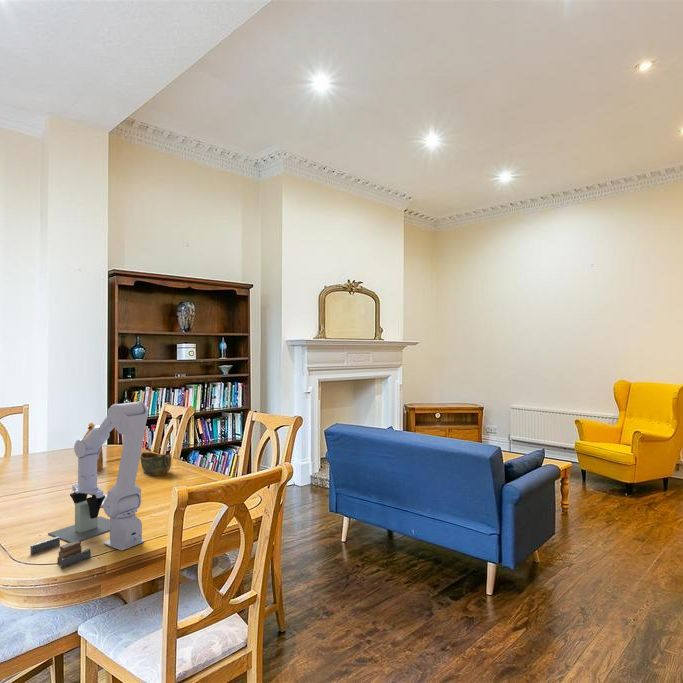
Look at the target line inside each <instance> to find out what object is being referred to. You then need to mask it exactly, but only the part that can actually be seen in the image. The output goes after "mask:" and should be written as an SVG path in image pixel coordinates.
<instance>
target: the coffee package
mask: <svg viewBox="0 0 683 683" xmlns="http://www.w3.org/2000/svg"><path fill="white" fill-rule="evenodd" d="M93 426H95V423H93V422H90V423H88V427H87V431H86V433H85V434H84V436H83V438H82V439H84V438H85V437H86V435H87V434H88V433H89V432H90V431H91V430H92V428H93ZM102 446H103V445H102ZM102 446H101V452H100V454H99V459H98V460H97V473H98V472H101V470H102V469H103V466H104V456H103V455H104V453H103V447H102Z"/></svg>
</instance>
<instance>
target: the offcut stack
mask: <svg viewBox="0 0 683 683" xmlns="http://www.w3.org/2000/svg"><path fill="white" fill-rule="evenodd" d="M81 542H82V541H80V542H79V541H74V542H71V543H68V542H67V543H65V544H63V545H59V546H60V547H59V551H58V557H57V562H56V563H57V565H60V566H61V559H62V558H65V557H67V556H70V555H73V554H75V553H78V552H81V551H83V550H82V549H83V548H82V544H81Z"/></svg>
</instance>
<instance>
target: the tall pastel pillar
mask: <svg viewBox="0 0 683 683" xmlns="http://www.w3.org/2000/svg"><path fill="white" fill-rule="evenodd" d="M98 517H99V516H98ZM98 517H96V518H93V519H91V518H90V512H89V506H88V503H87V501H83V502H79V503H76V504H74V525H75V531H76V532H79V533H82V532H85V531H88V530H91V529H94V528H96V527H98Z"/></svg>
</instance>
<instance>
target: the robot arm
mask: <svg viewBox="0 0 683 683" xmlns="http://www.w3.org/2000/svg"><path fill="white" fill-rule="evenodd" d="M148 415H149V411H148V409H147V406H146V405H145V403H144V402H143V401H141V400H138V401H133V402H126V403H125V402H124V403H114V404H112V405H110V407H109V408H108V409H107V415H106V416H105V418H104V419H103V421H102V423H100V425H94V426H93V428H92V430H91V431H90V432H89V433H88V434H87V435H86V437H85V438H84V439H83V438H81V439H77V440H76V441H75V443H74V446H73V450H74V451H73V452H74V454H75V456H76V457H77V483H75V484H73V485H72V489H71V490H72V493H69V496H70V498H71V500H72V501H73V503H74V505H75V504H76V503H79V502H83V501H87V503H88V506H89V512H90V518H91V519H93V518H96V517H99V513H100V509H101V508H103V512H104V514H105V515H106V516H107V517H109V519H110V531H109V540H106V541H104V542H103V545H105V546H109V547H111V548H113V549H116V550H118V551H125V550H127V549H129V548H132V547H134V546H137V545H140V544H142V543H144V542H145V539H143V538H142V537H143V532H142V531H143V523H142V520H141V519H140V518H139V517H137V515H136V513H138V509H139V508H140V507H141V504H142V489H141V487H140V486H139V485H137V483H136V481H137V475H138V469H139V464H140V461H141V454H142V449H143V442H144V437H145V429H146V427H147V425H146V424H147V420H148V417H149V416H148ZM114 429H115V430H116V431H117V432H118V434H120V435H123V437H124V439H123V444H122V450H121V456H120V461H119V466H118V471H117V475H116V476H117V478H116V482H115V484H114V485H113V486H112V487H111V488H110V489H109V490H107V497H106V498H105V495H106V494H104V490H102V489H100V487H99V486H98V472H97V460H98V459H99V454H100V452H101V446H103V445H104V444H105V442H107V440H108V439H109V438H110V435H111V433H110V432H112V431H113V430H114ZM88 495H89V496H90V497H88ZM104 499H105V500H104ZM103 500H104V504H103V507H101V504H102V502H103Z"/></svg>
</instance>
